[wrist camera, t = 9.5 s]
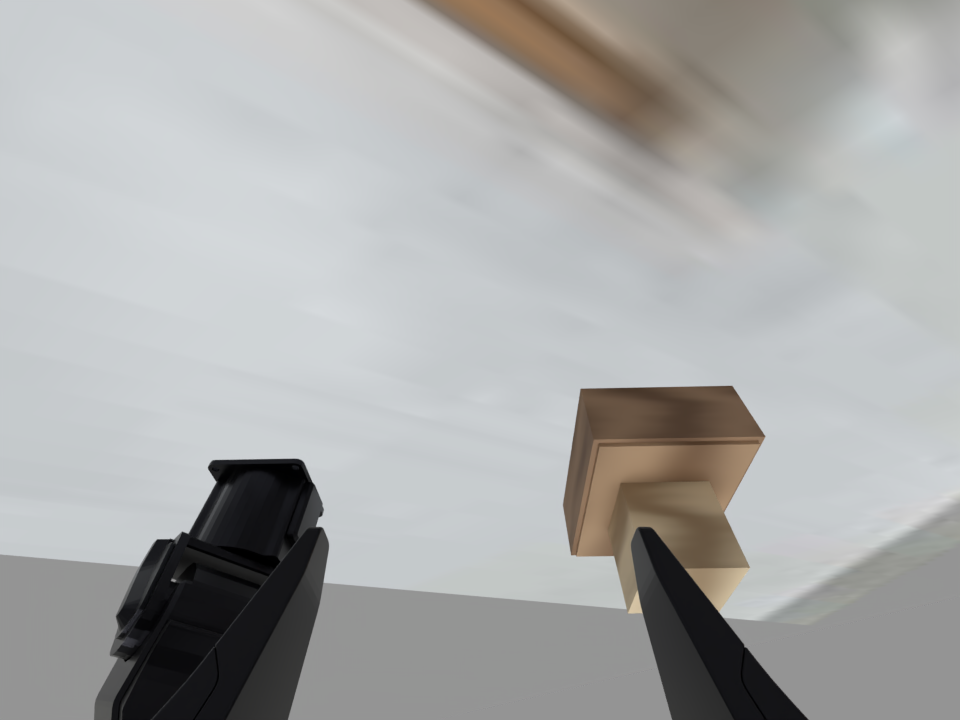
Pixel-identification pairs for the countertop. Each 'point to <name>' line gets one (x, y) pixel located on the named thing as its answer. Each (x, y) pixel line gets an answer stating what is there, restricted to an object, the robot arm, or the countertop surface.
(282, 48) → the countertop surface
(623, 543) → the oak cube
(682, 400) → the walnut box
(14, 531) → the countertop surface
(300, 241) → the countertop surface
